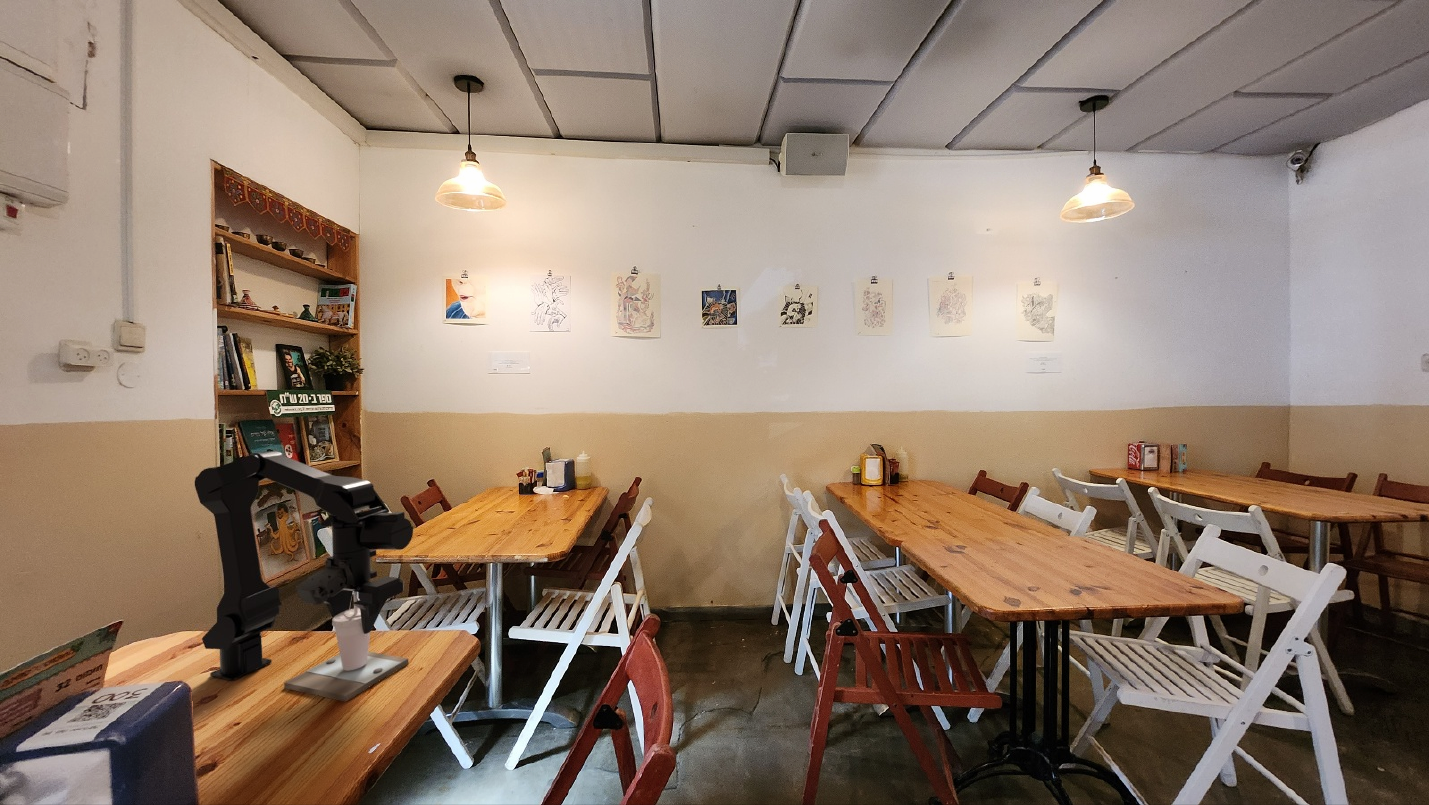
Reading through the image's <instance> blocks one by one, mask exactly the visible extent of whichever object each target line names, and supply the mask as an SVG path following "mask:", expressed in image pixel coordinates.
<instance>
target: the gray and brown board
mask: <svg viewBox="0 0 1429 805" xmlns="http://www.w3.org/2000/svg"><path fill="white" fill-rule="evenodd" d="M407 665H409V658H407V657H403V656H402V657H401V656H396V655H390V654H384V653H378V652H373V651H369V650H368V657H367V663H366V664H365V665H364V666H362V667H360V668H357V669H354V670H348V671H347V670H343V668H342V662H341V657H340V653H337V655H334V656H333V657H331V658H329V659H326V660H325V661H322V662H321V663H319V664H317V665H315V666H312V667H311V668H309V669H307V670H305V671H304V672H302V673H300V674H297V675H296V676H294V677H292V678H290V679H288V680H287V681H284V682H283V686H284V689H286V690H292V691H296V692H300V693H301V692H302V693H305V694H309V695H314V694H315V695H314V696H318V695H319V697H324V698H328V699H332V700H337V701H341V702H348V701H350V700H351V699H353V698H354V697H356V696H358V695H359V694H360V693H362V692H364V691H366V690H367V688H368V687H369V686H371V687H373V686H374V685H376V684H377V683H379V682H380V681H379V680H381V679H382V680H384V679H385V678H384V677H386V678H387V677H389V676H391V675H392V674H394V673H396V672H397V671H399V670H401V669H402V668H403V667H405V666H407ZM398 669H399V670H398ZM396 670H397V671H396ZM395 671H396V672H395ZM393 672H394V673H393ZM390 674H391V675H390ZM383 678H384V679H383ZM382 680H381V681H382ZM378 681H379V682H378ZM375 683H376V684H375ZM373 684H374V685H373ZM369 688H370V687H369ZM369 688H368V689H369ZM365 689H366V690H365ZM357 694H358V695H357Z"/></svg>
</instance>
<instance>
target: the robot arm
mask: <svg viewBox="0 0 1429 805" xmlns="http://www.w3.org/2000/svg"><path fill="white" fill-rule="evenodd" d="M266 479H268V480H270V481H272V482H275V483H277V484H279V485H282V486H284V487H287V488H289V489H291V490H294V491H296V492H299V493H302V494H303V495H306V496H308V497H310V498H312V499H313V500H314V503H315V504H316V506H317V508H320V510H322V511H324V512H325V513H327V514H329V515H328V516H327V517H326V518H325V519H324V520H322V521H321V522H320V527H326V528H329V527H331V540H332V547H331V548H332V556H328V557H326V560H324V561H325V562H324V564H325V566H324V568H323V569H321V570H319V571H317V572H315V573H314V574H312V575H310V576H307V577H306V578H305V579H304V580H303V581H302V582H300V583H299V584H297V585H296V586H295V590H296V592H297V594H298V596H299V598H300V600H301V601H302V603H304V604H313V606H314V605H315V606H316V605H317V606H318V605H320V604H323V603H324V604H325V605H326V607H327V609H328V611H329V613H330V615H331V618H332V619H333V618H334V617H335V616H336V615H337V614H339V613H342V612H344V611H347V610H350V609H351V608H350V607H351V604H352V605H353V606H354V605H355V606H357V607H358V608H360V612H361V621H362V628H363V632H364V634H367V633H369V632H370V631H371V632H372V629H373V628H374V625H375V623H376V621H377V619H378V618H379V615H380V613H381V611H382V610H383V608H384V605H385V604H386V602H387V601H388V599H391V598H393V597H395V596H398V595H400V594H402V593H405V592H404V590H405V589H404V588H405V586H404V583H405V582H404V580H403V579H401V578H400V577H393V576H387V575H386V576H383V577H381V578H378V579H375V580H372V581H371V579H374V578H376V577H377V576H378V571H377V570H372V557H375V556H377V550H383V551H385V550H387V551H388V550H392V551H395V550H396V551H398V550H399V551H400V550H405V548H407V547H408V545H409V544H410V543H411V541H412V539H413V534H414V527H413V526H412V523H411V521H410V520H409V519H408V518H406V517H405V512H404V511H397V512H396V511H395V512H390V509H389V508H388V506H387V505H386V504H385V502H384V501H383V500H382V498H381V497H380V495H379V494H378V493H377V492H376V490H375V488H374V487H375V486H374V484H373V483H372V482H370V481H369V480H366V479H361V478H357V477H351V476H339V475H337V476H336V475H333V474H330V473H327V472H324V471H322V470H319V469H318V468H314V467H312V466H310V465H307V464H305V463H303V462H300V461H298V460H295V459H293V458H290V457H287V456H286V455H284V454H283V453H282V452H281V451H277V450H270V451H269V450H268V451H259V452H255V453H254V452H253V453H250V454H249V455H246V456H244V457H242V458H240V459H236V460H234V461H231V462H228V463H225V464H222V465H219V466H213V467H207V468H205V469H203V470H201V471H200V472H199V474H198V476H195V479H194V488H195V491H196V494H197V498H198V500H199V502H200V505H202V506H203V507H204V508H206V509H207V510H208V511H209V512H210V513H211V514H213V517H214V521H215V522H214V523H215V528H216V534H217V541H218V542H217V543H218V548H219V554H220V559H221V567H222V571H223V572H222V573H223V579H224V586H225V591H224V593H223V595H222V597H221V599H220V600H219V602H218V605H217V606H216V622H215V623H214V624H213V626H212V627H211V628H210V629H209V630H208V631H207V632H206V633H204V635H203V637H202V638H201V640H202V643H203V646H204V648H205V649H206V650H219V668H218V669H216V670H213V671H212V672H210V673H209V676H210V677H214V678H218V679H222V680H226V681H231V682H232V681H235V680H236V679H239V678H242V677H244V676H246V675H248V674H250V673H252V672H255V671H256V670H259V669H261V668H263V667H265V666H267V665H269V664H271V663H272V659H269V658H265V657H263V644H262V642H263V641H262V640H263V639H262V634H261V633H263V632H265V631H267V630H270V629H272V628H273V627H274V624H275V622H276V619H277V618H276V617H277V616H278V615H279V614H280V606H282V605H283V604H282V602H281V600H280V595H279V594H280V592H279V591H280V590H279V587H278V586H277V585H274V586H270V585H269V584H267V583H266V582H265V581H264V580H263V578H262V571H261V565H260V560H259V553H258V548H257V547H258V546H257V541H256V535H255V529H254V528H255V527H254V522H253V521H254V520H253V516H252V515H253V514H252V510H251V509H252V507H253V504H254V502H255V501H256V498H257V496H258V494H259V491H260V488H259V487H260V482H261V481H264V480H266ZM354 591H356V592H357V599H358V600H357V601H356V602H354V601H353V602H352V598H353V595H354V594H353V592H354ZM351 602H352V603H351ZM371 632H370V633H371Z"/></svg>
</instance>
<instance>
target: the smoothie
mask: <svg viewBox="0 0 1429 805" xmlns="http://www.w3.org/2000/svg"><path fill="white" fill-rule="evenodd" d="M352 595H353V603H354V602H356V601H358V592H356V591H353V594H352ZM331 621H332V622H331V625H332V627H334V629H335V630H334V631H335V636H336V641H337V646H338V651H339V654H340V657H341V662H342V668H343V670H347V671H348V670H354V669H357V668H360V667H362V666H364V665H365V664H366V663H367V657H368V651H369V648H370V646H369V645H370V640H371V639H370V638H371V632H372V630H371V631H370V632H369V633H367V634H364V632H363V628H362V621H361V612H360V608H358V607H357V606H355V605H353V608H349V610H347V611H344V612H342V613H339V614H337V615H336V616H335V617H334V618H332V620H331Z"/></svg>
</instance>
